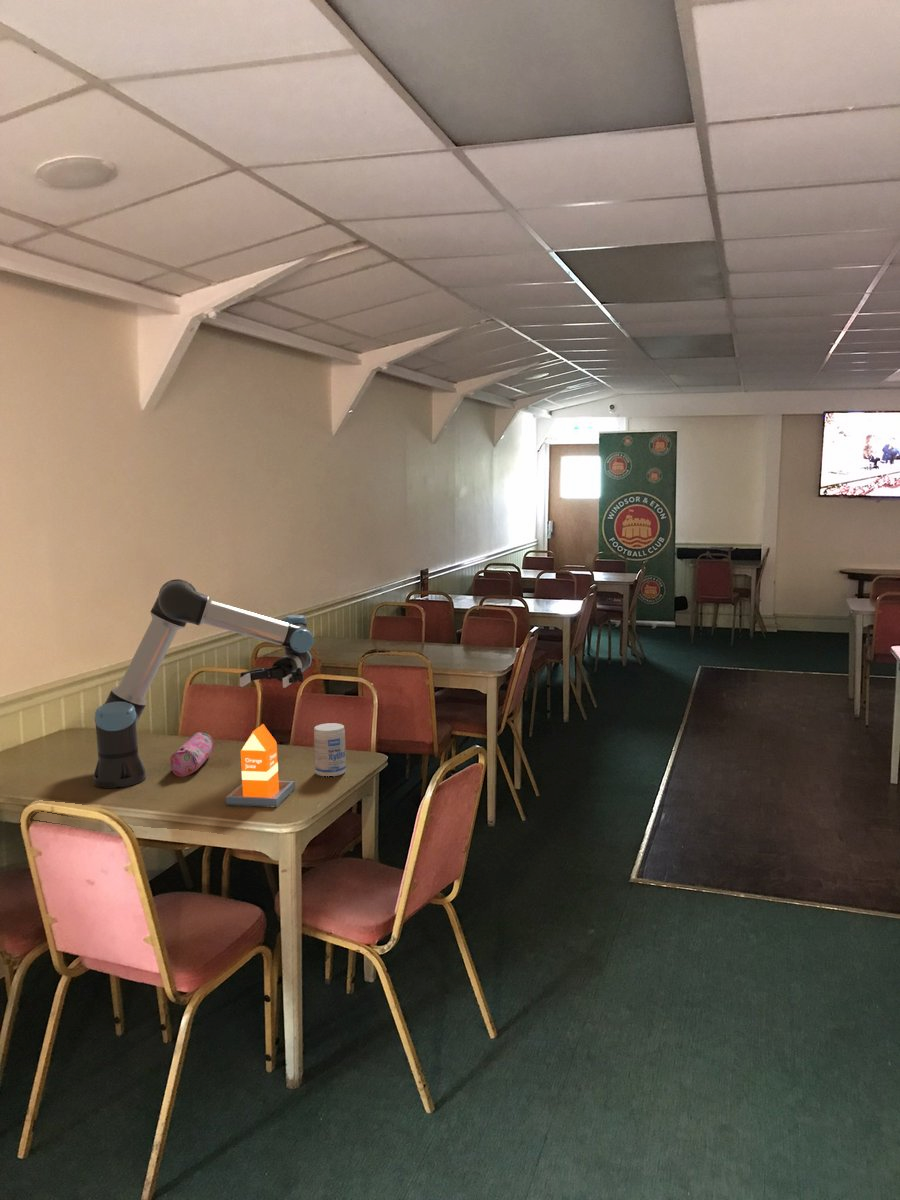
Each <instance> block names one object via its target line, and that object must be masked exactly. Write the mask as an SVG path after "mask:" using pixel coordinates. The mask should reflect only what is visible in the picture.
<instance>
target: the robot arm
mask: <svg viewBox="0 0 900 1200" xmlns="http://www.w3.org/2000/svg"><path fill="white" fill-rule="evenodd" d="M159 589H160V590H159V591H158V595H157V598H156V600H155V602H154V604H153V606H152V608H151V610H150V611H149V613H150V615H151V618H152V619H151V621H150V622H149V625H148V627H147V629H146V630H145V633H144V634H143V637H142V639H141V641H140V643H139V645H138V646H137V649H136V651H135V653H134V655H133V657H132V659H131V660H130V663H129V665H128V667H127V669H126V671H125V672H124V675H123V677H122V679H121V681H120V683H119V685H117V686H115V687H113V688H111V690H110V692H109V694H108V696H107V698H106V700H105V702H104V703H103V704H102V705H100V706H98V707H97V708H96V709H95V713H94V722H95V733H96V745H97V746H96V747H97V758H98V759H97V761H96V765H95V769H94V774H93V784H95V785H96V786H95V785H94V786H95V787H97V786H98V788H101V787H103V788H102V789H118V788H117V787H120V788H125V787H130V785H131V786H134V785H136V784H140V783H142V782H143V781H145V780H146V778H147V771H146V768H145V765H144V763H143V762H142V759H141V757H140V755H139V745H138V743H139V741H138V729H137V728H138V727H137V726H138V722H139V719H140V717H141V715H142V714H143V711H144V709H145V707H146V706H147V703H148V702H147V700H146V695H147V693H148V690H149V688H150V686H151V685H152V683H153V681H154V679H155V677H156V674H157V673H158V670H159V668H160V666H161V665H162V662H163V660H164V658H165V656H166V654H167V652H168V650H169V648H170V646H171V644H172V642H173V641H174V639H175V637H176V634H177V633H178V631H179V630H181V629H184V628H186V625H187V623H188V624H192V625H196V626H201V625H203V624H205V625H209V626H211V627H214V628H219V629H222V630H226V631H229V632H232V633H237V634H239V635H243V636H246V637H251V638H254V639H257V640H259V641H260V640H262V641H265V642H267V643H271V644H275V645H279V646H281V647H284V656H282V657H281V658H279V659H276V661H274V662H273V664H272V666H271V667H264V666H262V667H258V668H255V669H251V670H247V671H243V672H242V671H241V672H240V677H239V687H241V688H243V687H245V686H246V685H248V684H250V683H251V682H252V681H258V680H263V679H265V680H272V679H273V680H277V681H279V682H282V688H284V689H285V688H287V687H288V686H290V685H292V684H294V683H295V684H296V683H297V682H299V683H303V682H304V672H306V671H307V669H309V667H310V666H311V664H312V659H313V658H312V654H311V653H310V652H309V651H310V650H311V649H312V648H313V645H314V642H315V640H314V635H313V633H312V632H311V631H310V630H309V629H308V627H307V626H308V623H307V618H306V616H305V615H303V614H302V615H301V614H292V615H286V616H285V617H283V621H282V620H280V619H275V618H272V617H269V616H265V615H262V614H258V613H255V612H252V611H248V610H245V609H242V608H239V607H236V606H235V607H234V606H232V605H229V604H225V603H223V602H218V601H215V600H212V599H211V598H210V596H209V595H206V594H203V593H200V592H198V591H197V590H196V588H195V587H194V585H192V583H190V582H188V581H187V580H183V579H180V578H179V579H178V578H177V579H176V578H175V579H170V580H169V581H167V582H165V583H164V584H162V586H161V587H160V588H159ZM144 779H145V780H144ZM139 782H140V783H139Z"/></svg>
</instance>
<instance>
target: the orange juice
mask: <svg viewBox="0 0 900 1200" xmlns="http://www.w3.org/2000/svg"><path fill="white" fill-rule="evenodd" d="M244 743H245V744H244V745H243V747H241V748H242V749H241V750H240V764H241V784H242V785H243V796H247V797H273V796H274V795H275V794H276V793H277V792H278V791H279V781H280V779H279V762H278V745H277V741H276V739H275V738H274V736H272V733H270V731H269V730H268V729H267V727H266V725H265V724H264V723H262V724H261V725H260V726H259V727H257V728H255V729H254V730H253V731H252V732H251V734H250V736H249V737H248V739H247V740H246V742H244Z"/></svg>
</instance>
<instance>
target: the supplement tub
mask: <svg viewBox="0 0 900 1200" xmlns="http://www.w3.org/2000/svg"><path fill="white" fill-rule="evenodd" d="M313 731H314V732H313V743H314V744H313V745H314V746H313V747H314V748H313V749H314V772H315V774H316V775H317V776H321V777H324V776H326V777H327V776H328V777H327V778H330V777H329V776H333V777H338V776H341V775H343V774H344V773H345V772H346V770H347V764H346V763H347V761H346V755H347V753H346V731H345V725H343V724H342V723H335V722H333V723H332V722H331V723H330V722H327V723H321V724H317V725H316V726H314V729H313Z"/></svg>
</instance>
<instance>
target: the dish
mask: <svg viewBox="0 0 900 1200" xmlns="http://www.w3.org/2000/svg"><path fill="white" fill-rule="evenodd" d="M294 789H295V790H296V781H295V780H294V781H293V780H279V791H278V792H277V793H276V794H275V795H274V796H273V797H247V796H243V785H242V783H241V784H239V786H237V787H236V788H235V789H234V790H232V791H230V793H229V794H227V796H225V804H226V805H225V806H227V805H236V806H235V807H251V806H270V807H269V808H272V807H271V806H274V807H273V808H275V807H277V806H278V805H279V804H280V803H281V802H282V801H283V800H284V799H285V798H286V797H287V796H288V795H289V794H290V793H291V792H292V791H293V790H294ZM295 790H294V791H295ZM294 791H293V792H294ZM293 792H292V793H293ZM292 793H291V794H292ZM291 794H290V795H291ZM290 795H289V796H290ZM289 796H288V797H289ZM288 797H287V798H288ZM287 798H286V799H287ZM286 799H285V800H286ZM285 800H284V801H285ZM284 801H283V802H284ZM283 802H282V803H283ZM282 803H281V804H282ZM281 804H280V805H281ZM280 805H279V806H280ZM279 806H278V807H279ZM278 807H277V808H278Z"/></svg>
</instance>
